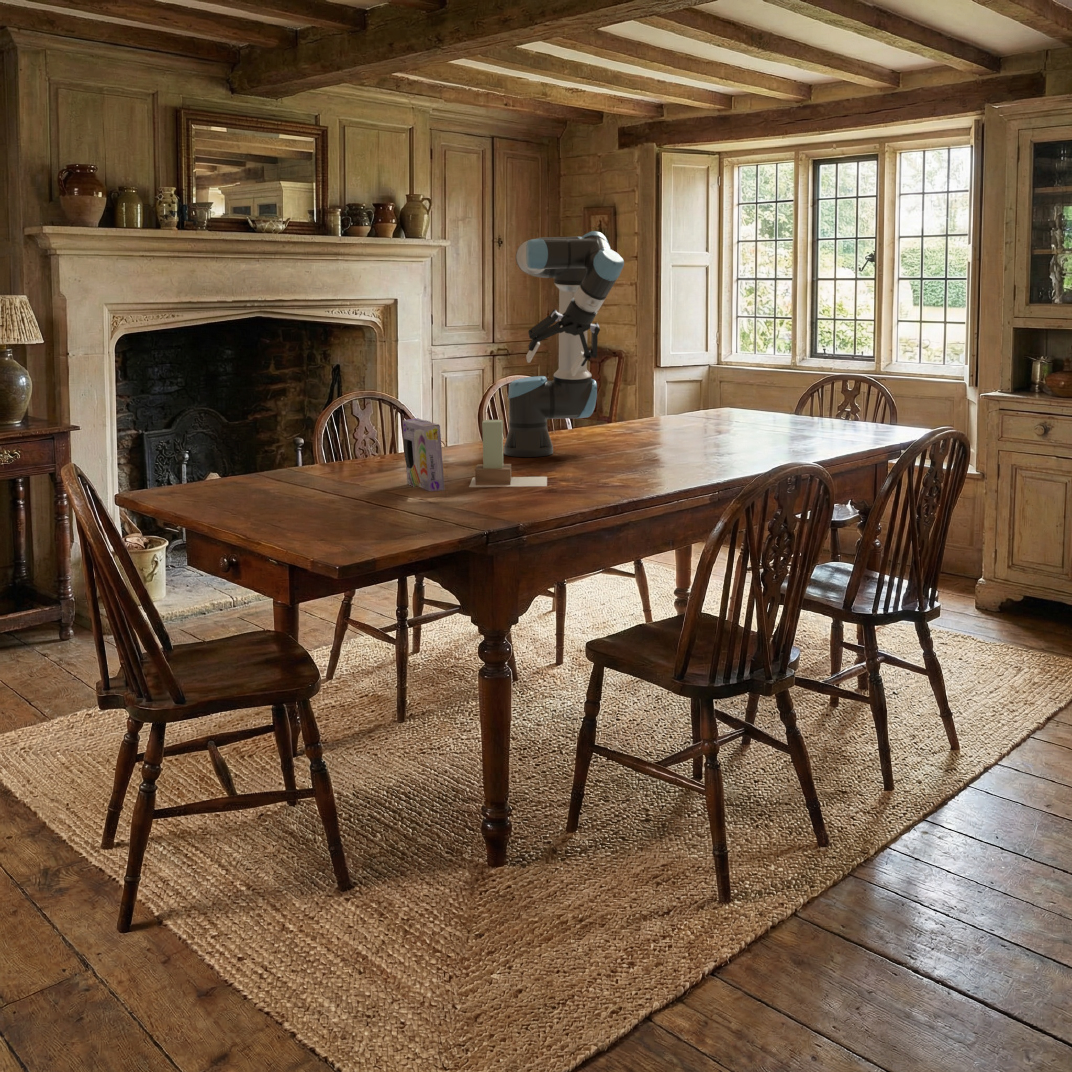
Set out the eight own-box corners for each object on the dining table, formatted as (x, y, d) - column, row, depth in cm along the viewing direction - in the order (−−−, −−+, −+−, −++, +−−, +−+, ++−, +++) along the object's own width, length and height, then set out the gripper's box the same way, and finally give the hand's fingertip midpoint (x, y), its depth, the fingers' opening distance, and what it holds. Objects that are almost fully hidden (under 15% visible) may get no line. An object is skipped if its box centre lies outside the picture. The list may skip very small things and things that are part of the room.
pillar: (484, 465, 306) (483, 420, 304) (503, 465, 306) (502, 419, 304) (483, 468, 302) (482, 422, 299) (502, 468, 302) (501, 422, 299)
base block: (477, 479, 309) (477, 464, 308) (511, 478, 309) (511, 463, 308) (475, 485, 301) (475, 469, 300) (510, 484, 300) (509, 469, 300)
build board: (472, 481, 312) (472, 477, 312) (547, 480, 312) (547, 476, 311) (469, 490, 298) (469, 486, 298) (546, 489, 298) (546, 486, 298)
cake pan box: (403, 483, 310) (401, 417, 306) (421, 482, 312) (419, 416, 308) (426, 495, 293) (424, 425, 289) (445, 493, 295) (443, 424, 291)
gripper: (544, 298, 295) (510, 362, 308) (629, 326, 305) (593, 386, 318) (540, 282, 300) (507, 345, 313) (624, 309, 310) (588, 370, 323)
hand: (550, 366), depth 315 cm, fingers open, 13 cm apart
